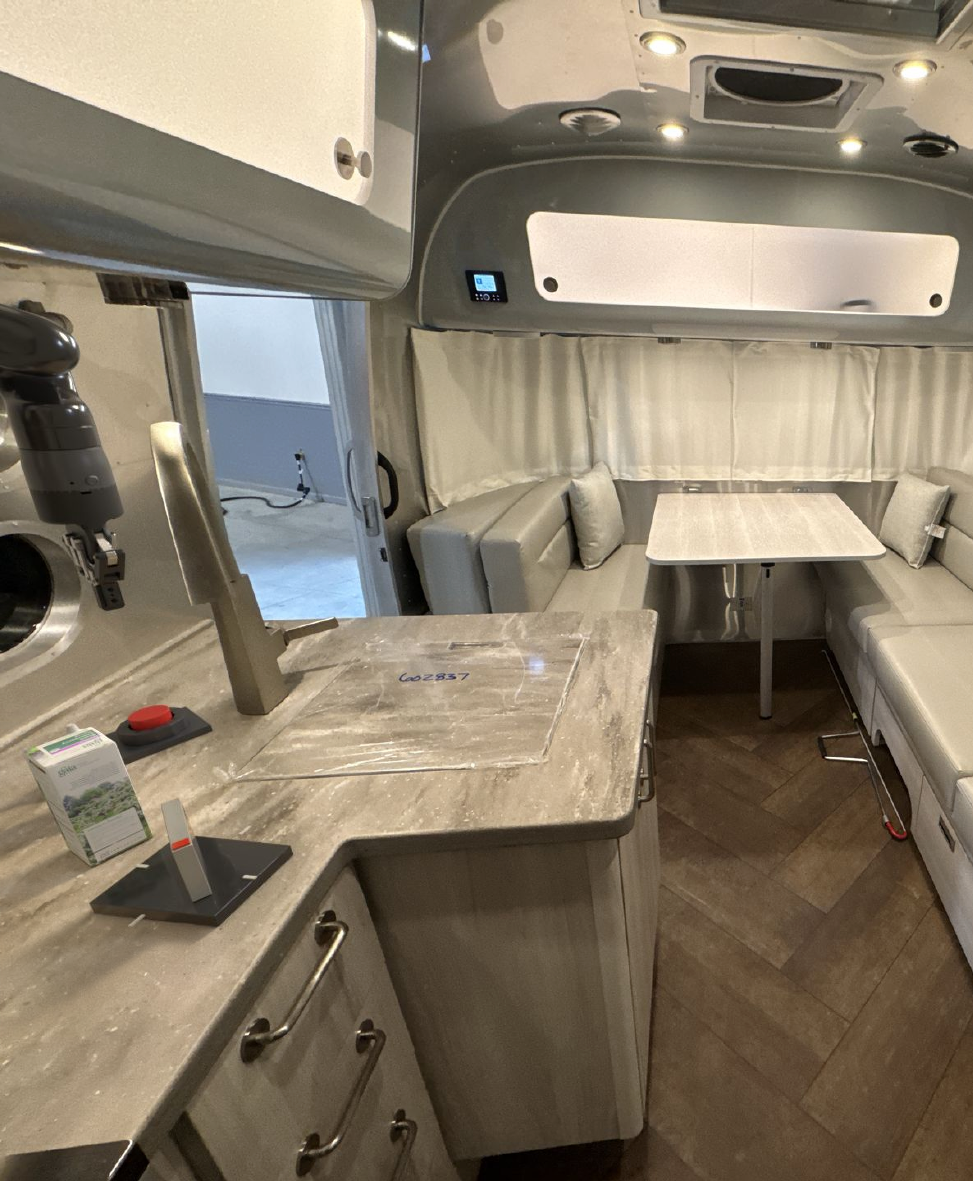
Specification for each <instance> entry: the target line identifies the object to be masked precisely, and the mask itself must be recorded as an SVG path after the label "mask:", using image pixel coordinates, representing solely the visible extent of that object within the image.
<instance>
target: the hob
mask: <svg viewBox="0 0 973 1181" xmlns="http://www.w3.org/2000/svg"><path fill="white" fill-rule="evenodd" d="M251 828H252V825H247V826H246V827H244V829H243V830H241V831H240V832H239V833H238V836H243V835H244V834H245V833H246V832H248V831H249V830H250V829H251ZM195 838H196V840H197V843H198V846H199V849H200V853H201V856H202V860H203V863H204V867H205V870H206V874H207V877H208V881H209V884H210V888H211V891H212V894H210V895H208V896H206V897H204V898H201V899H199V900H197V901H195V902H192V900H191V897H190V895H189V892H188V890H187V888H186V885H185V883H184V881H183V878H182V876H181V873H180V871H179V869H178V866H177V864H176V861H175V859H174V857H173V854H172V851H171V847H170V843H169V842H167V843H166V844H165V845H163V846H162V847H161V848H160V849H158V850H157V851H156V852H154V853H152V855H150V856H149V857H148V858H146V859H145V860H144V861H142V862H141V863H136V864H135V865H133V867H134V868H133V869H132V870H130V871H129V872H128V873H126V874H125V875H124V876H122V877H121V878H120V879H119V880H117V881H116V882H115V883H113V884H112V885H111V886H109V887H107V889H105V890H104V891H103V892H101V893H100V894H99V895H97V896H96V897H94V899H92V900H91V901H89V903H88V904H89V907H90V908H91V910H92V912H93V914H98V915H108V916H110V915H111V916H118V917H127V918H136V919H134V920H133V921H132V922H131V923H129V924H128V925H127V927H128V928H133V926H135V925H137V923H139V922H140V921H141V920H142V919H146V920H155V921H164V922H173V923H181V924H182V923H183V924H190V925H192V924H193V925H202V926H211V927H219V926H220V925H222V923H223V922H224V921H226V919H228V918H229V917H230V916H231V915H232V914H233V913H234V912H235V911H236V910H237V909H239V907H240V906H241V905H242V904H243V903H244V902H246V901H247V900H248V898H249V897H251V896H252V895H253V894H254V893H256V891H257V890H258V889H259V888H261V886H263V885H264V883H265V882H267V880H269V879H270V878H271V877H272V876H273V875H274V874H275V873H277V871H278V870H279V869H280V868H281V867H282V866H283V865H285V864H286V862H287V861H288V860H290V858H292V857H293V856H294V852H293V849H292V845H290V844H281V843H272V842H261V841H253V840H252V841H251V840H241V839H232V838H222V837H211V836H204V835H203V836H201V835H195Z"/></svg>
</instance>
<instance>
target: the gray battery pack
mask: <svg viewBox="0 0 973 1181" xmlns="http://www.w3.org/2000/svg"><path fill="white" fill-rule="evenodd" d="M160 808H161V813H162V817H163V821H164V825H165V830H166V834H167V838H168V843H170V847H171V851H172V854H173V857H174V859H175V861H176V864H177V866H178V869H179V871H180V873H181V876H182V878H183V881H184V883H185V885H186V888H187V890H188V892H189V895H190V897H191V900H192V902H195V901H197V900H199V899H201V898H204V897H206V896H208V895H210V894H212V891H211V888H210V884H209V881H208V877H207V874H206V870H205V867H204V863H203V860H202V856H201V853H200V849H199V846H198V843H197V840H196V838H195V836H196V835H195V833H194V831H193V828H192V825H191V823H190V820H189V818H188V814H187V812H186V810H185V806H184V805H183V802H182V800H181V798H180V797H176V798H173V799H171V800H167V801H164V802H162V803H160Z"/></svg>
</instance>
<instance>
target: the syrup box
mask: <svg viewBox="0 0 973 1181" xmlns="http://www.w3.org/2000/svg"><path fill="white" fill-rule="evenodd" d="M82 729H83V730H81V731H78V732H75V733H72V734H69V735H67V736H64V737H62V736H61V737H58V738H56V739H53V740H50V741H47V742H44V743H42V744H40V745H37V746H34V747H31V748H29V749H26V750H23V751H22V754H23V757H24V759H25V762H26V764H27V766H28V768H29V770H30V771H31V774H32V776H33V779H34V780H35V782H36V784H37V786H38V788H39V790H40V792H41V794H42V796H43V798H44V800H45V803H46V804H47V807H48V808H49V810H50V813H51V815H52V817H53V819H54V821H55V823H56V825H57V827H58V829H59V832H60V834H61V837H62V838H63V840H64V842H65V844H66V846H67V848H68V850H70V852H72V853H73V854H75V855H76V856H77V857H79V859H81V860H82V861H84V863H86V864H87V865H88V866H90V868H93V867H95V866H98V865H100V864H102V863H104V862H105V861H107V860H109V859H111V858H113V857H116V856H117V855H120V854H121V853H123V852H125V851H127V850H130V849H131V848H133V847H136V846H137V845H139V844H141V843H143V842H145V841H147V840H149V839H151V838H153V837H154V834H153V830H152V828H151V827H150V824H149V822H148V820H147V817H146V814H145V812H144V810H143V807H142V805H141V803H140V800H139V797H138V796H137V792H136V790H135V788H134V785H133V783H132V780H131V778H130V775H129V773H128V769H127V768H126V765H124V763H123V760H122V757H121V755H120V753H119V750H118V748H117V745H116V743H115V742H114V741H112V740H110V739H109V738H107V737H106V736H105V735H106V734H104V733H102V732H101V731H99V730H98V729H96V728H95V727H93V726H89V727H86V728H82Z"/></svg>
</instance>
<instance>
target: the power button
mask: <svg viewBox="0 0 973 1181" xmlns="http://www.w3.org/2000/svg"><path fill="white" fill-rule="evenodd" d="M169 707H170V706H168V705H166V704H154V705H149V706H146V707H142V708H140V709H137V710H135V711H134V712H132V713H130V715H128V717H127V719H128V721H129V723H130V726H131V728H132V729H133V730H137V731H141V730H146V729H152V728H155V727H158V726H160V725H163V724H165V723H167V722H169V721H170V720H172V714H171V712H170V709H169Z"/></svg>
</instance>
